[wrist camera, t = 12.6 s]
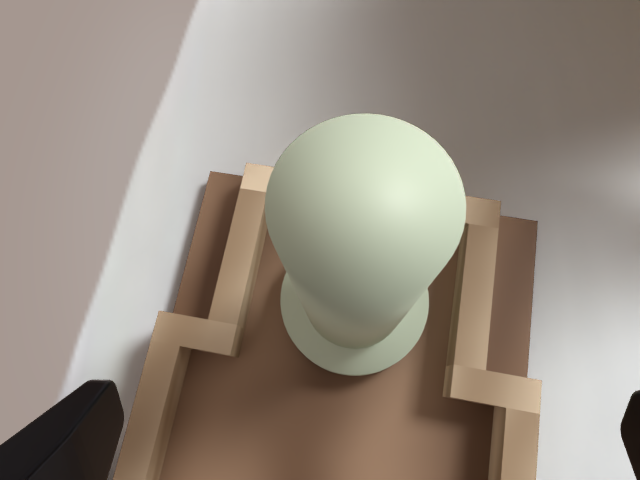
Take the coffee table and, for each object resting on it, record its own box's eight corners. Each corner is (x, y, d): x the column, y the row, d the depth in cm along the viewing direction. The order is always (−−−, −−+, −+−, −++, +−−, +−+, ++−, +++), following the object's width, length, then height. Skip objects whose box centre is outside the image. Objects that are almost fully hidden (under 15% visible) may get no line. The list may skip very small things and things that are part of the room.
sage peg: (432, 248, 22) (529, 93, 11) (413, 389, 20) (503, 385, 9) (299, 226, 23) (252, 55, 11) (270, 360, 21) (180, 322, 9)
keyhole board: (531, 227, 23) (551, 208, 21) (498, 691, 18) (520, 735, 16) (214, 178, 24) (201, 155, 22) (105, 596, 20) (73, 623, 17)
